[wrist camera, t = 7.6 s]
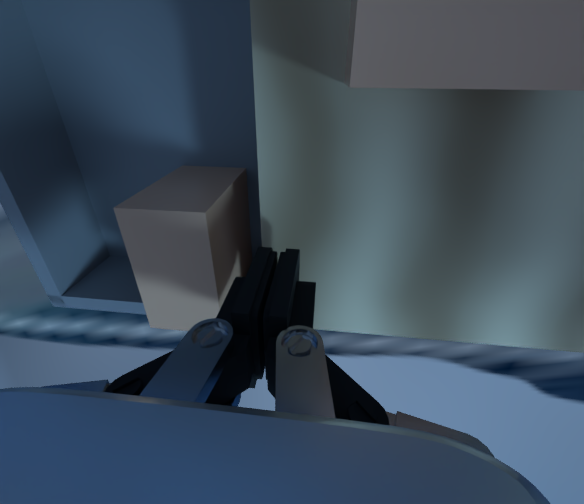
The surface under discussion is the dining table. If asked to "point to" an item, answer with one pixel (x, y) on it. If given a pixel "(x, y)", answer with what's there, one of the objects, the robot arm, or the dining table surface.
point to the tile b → (466, 44)
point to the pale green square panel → (417, 193)
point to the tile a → (187, 242)
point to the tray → (115, 125)
